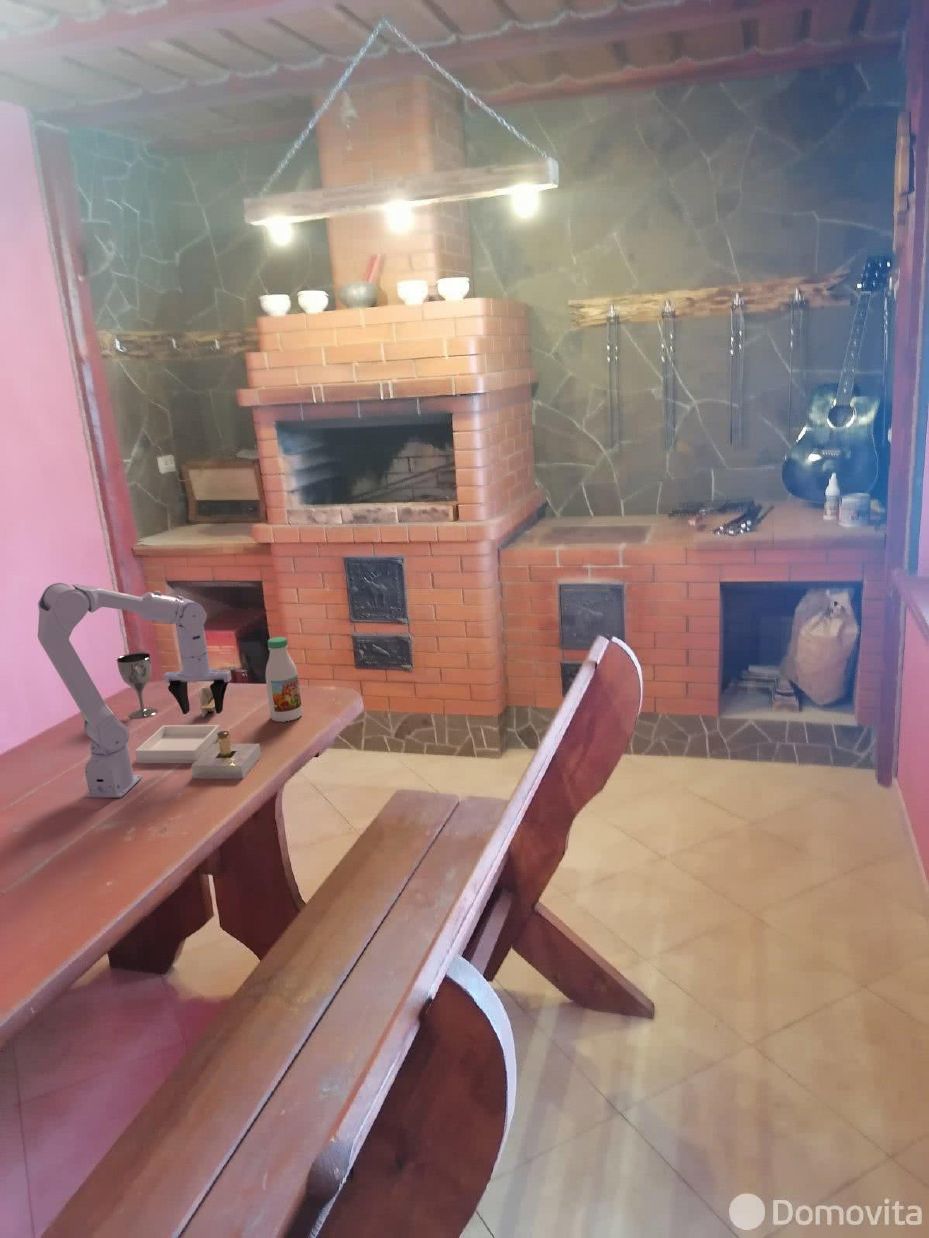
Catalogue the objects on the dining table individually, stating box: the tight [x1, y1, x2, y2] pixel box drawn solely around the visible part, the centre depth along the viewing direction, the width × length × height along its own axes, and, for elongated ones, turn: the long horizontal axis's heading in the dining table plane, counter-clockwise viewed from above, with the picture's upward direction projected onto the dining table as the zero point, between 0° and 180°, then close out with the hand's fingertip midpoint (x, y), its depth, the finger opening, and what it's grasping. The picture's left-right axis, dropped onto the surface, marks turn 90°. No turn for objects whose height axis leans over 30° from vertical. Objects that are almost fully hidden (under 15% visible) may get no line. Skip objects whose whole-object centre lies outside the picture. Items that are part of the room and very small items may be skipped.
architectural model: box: [198, 683, 216, 718], centre depth 225 cm, size 3×7×7 cm, turn 176°
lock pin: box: [217, 730, 232, 758], centre depth 194 cm, size 2×2×8 cm
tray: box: [134, 724, 222, 764], centre depth 205 cm, size 14×14×3 cm
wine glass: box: [116, 651, 159, 720], centre depth 227 cm, size 8×8×15 cm
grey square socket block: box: [191, 743, 262, 780], centre depth 194 cm, size 11×11×3 cm
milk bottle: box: [265, 636, 303, 723], centre depth 218 cm, size 8×8×20 cm
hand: (203, 712), depth 199 cm, fingers open, 7 cm apart
